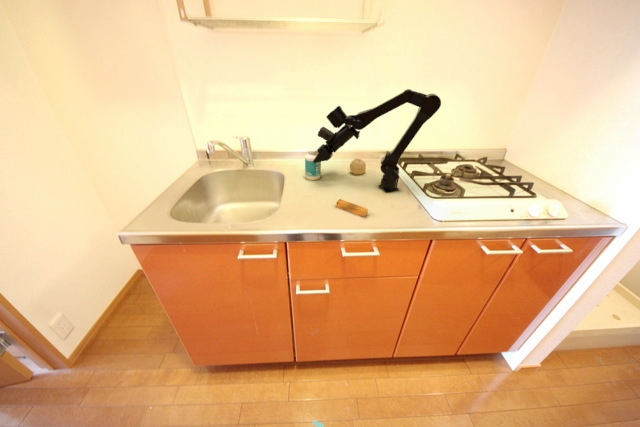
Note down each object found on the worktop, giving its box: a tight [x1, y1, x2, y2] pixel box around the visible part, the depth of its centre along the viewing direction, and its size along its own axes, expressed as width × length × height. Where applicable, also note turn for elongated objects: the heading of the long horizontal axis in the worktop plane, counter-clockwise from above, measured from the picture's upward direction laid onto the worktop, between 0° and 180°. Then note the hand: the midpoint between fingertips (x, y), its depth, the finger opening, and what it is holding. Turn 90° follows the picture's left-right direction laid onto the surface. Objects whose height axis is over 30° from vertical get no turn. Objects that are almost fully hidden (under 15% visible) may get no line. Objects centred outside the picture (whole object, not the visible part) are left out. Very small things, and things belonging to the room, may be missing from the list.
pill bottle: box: [304, 147, 322, 181], centre depth 106 cm, size 8×7×14 cm
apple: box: [349, 158, 367, 175], centre depth 113 cm, size 8×8×8 cm
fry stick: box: [335, 198, 369, 218], centre depth 84 cm, size 12×2×2 cm, turn 54°
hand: (317, 158), depth 104 cm, fingers open, 9 cm apart
